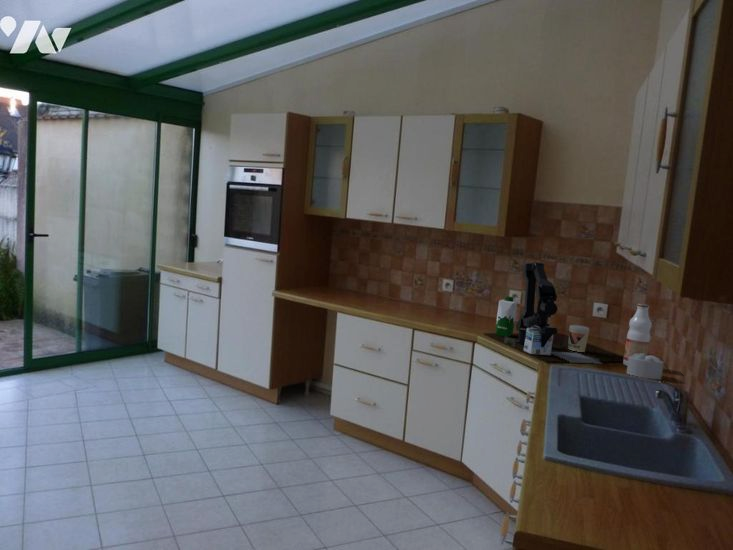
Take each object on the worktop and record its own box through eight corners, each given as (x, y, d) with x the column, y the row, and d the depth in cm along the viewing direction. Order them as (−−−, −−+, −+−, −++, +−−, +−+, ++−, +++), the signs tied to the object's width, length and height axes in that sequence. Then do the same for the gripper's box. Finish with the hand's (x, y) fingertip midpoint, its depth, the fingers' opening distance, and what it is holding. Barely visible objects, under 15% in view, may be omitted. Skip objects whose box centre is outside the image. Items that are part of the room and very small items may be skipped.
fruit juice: (634, 368, 267) (644, 305, 265) (618, 363, 276) (627, 302, 273) (650, 368, 271) (659, 306, 268) (633, 363, 280) (642, 303, 277)
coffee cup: (562, 349, 295) (566, 325, 294) (571, 348, 302) (574, 324, 300) (580, 354, 288) (584, 329, 287) (589, 352, 295) (593, 328, 294)
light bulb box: (530, 354, 274) (533, 330, 273) (522, 350, 281) (525, 327, 280) (551, 355, 277) (554, 332, 276) (543, 351, 284) (546, 329, 283)
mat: (548, 352, 283) (548, 351, 283) (577, 354, 287) (577, 353, 287) (570, 362, 265) (571, 361, 265) (602, 364, 270) (602, 362, 270)
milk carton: (514, 335, 319) (519, 298, 317) (509, 337, 311) (514, 299, 309) (497, 332, 323) (502, 295, 321) (492, 334, 315) (497, 296, 313)
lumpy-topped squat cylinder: (663, 380, 250) (667, 359, 250) (632, 376, 251) (635, 356, 250) (652, 374, 261) (655, 354, 260) (622, 370, 261) (625, 350, 260)
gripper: (516, 307, 284) (512, 340, 285) (538, 314, 266) (533, 349, 267) (537, 308, 287) (533, 341, 288) (560, 315, 269) (555, 350, 270)
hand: (538, 345), depth 278 cm, fingers closed on light bulb box, 7 cm apart
